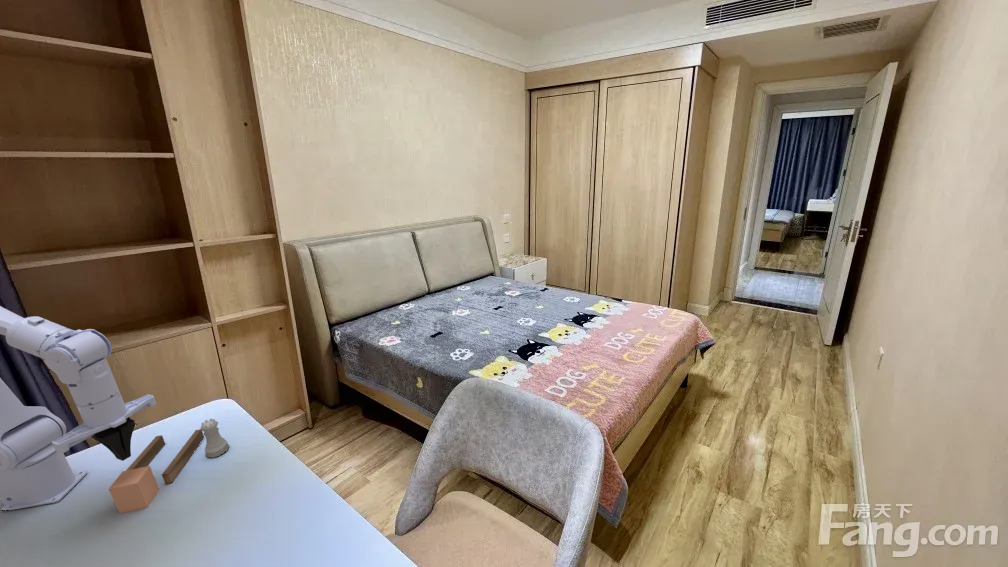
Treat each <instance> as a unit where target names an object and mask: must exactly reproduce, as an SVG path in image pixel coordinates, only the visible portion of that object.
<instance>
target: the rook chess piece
mask: <svg viewBox="0 0 1008 567" xmlns="http://www.w3.org/2000/svg"><path fill="white" fill-rule="evenodd" d="M218 425H219V421H216V419H215V418H209V420H208V419H206V420H204V422H202V423H201V426H200V428H199V430H202V432H203V435H204V437H205V440H206V441H205V442H206V444H205V448H204V452H205V456H206V457H208V458H210V459H211V458H212V459H213V458H218V457H220V456H222V455H224V454H225V453H226V452H227V450H229V446H230V444H228V441H227V440H226V439H225V438H224V437H223V436H222V435H221V434H220V431H219V430H220V428H219V427H218ZM225 451H226V452H225ZM224 452H225V453H224ZM223 453H224V454H223ZM221 454H222V455H221ZM217 456H218V457H217Z"/></svg>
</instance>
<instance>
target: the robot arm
mask: <svg viewBox="0 0 1008 567" xmlns="http://www.w3.org/2000/svg"><path fill="white" fill-rule="evenodd" d="M0 335H2V336H4V337H5V342H6V343H7V344H8V346H10V347H12V348H15V349H18V350H20V351H23V352H25V353H28V354H30V355H32V356H35V357H38V358H40V359H43V361H44V363H45V365H46V366H47V367H48V368H49V369H50V370H51V371H52V372H54V374H56V376H57V378H58V379H59V381H60V382H61V383H62V384H66V386H67V388H68V390H69V392H70V395H71V397H72V399H73V402H74V404H75V406H76V408H77V410H78V412H79V414H80V417H81V419H82V421H83V422H82V423H80V424H79V425H78V426H76V427H74V428H73V429H71V430H70V431H68V432H67V426H66V424H65V422H64V421H63V420H62V419H61V418H60V417H58V416H57V415H55V414H54V413H52V412H51V411H50V410H49V409H48V408H47V407H46V406H37V405H36V406H30V405H29V406H27V405H24V404H23V403H22V401H20V399H19V398H18V397H17V396H16V394H15V393H14V392H13V391H12V390H11V388H10V387H8V385H7V384H6V383H5V382H4V380H3V379H2V378H1V377H0V500H1V502H2V504H3V505H4V506H2V508H1V509H0V510H5V511H4V512H7V511H6V510H9V511H14V510H18V509H24V508H30V507H36V506H43V505H48V504H53V503H58V502H60V501H61V500H62V499H63V498H64V497H65V496H66V495H67V494H68V493H69V492H70V491H71V490H72V489H73V488H75V486H76V485H77V484H79V482H80V481H81V480H82V479H83V478H84V477H86V475H87V474H88V471H87V470H82V471H75V472H73V470H72V468H71V466H70V464H69V462H68V459H67V458H66V455H65V454H64V453H66V452H68V451H70V448H72V447H73V446H76V445H78V444H80V443H81V442H83V441H86V440H87V439H89V438H92V439H93V440H95V441H97V442H98V443H100V444H101V445H103V446H104V447H106V449H108V450H109V451H110V452H111V453H112V454H113V455H114V457H115V458H116V459H117V460H120V461H125V460H127V459H129V458H130V457H131V456H132V453H131V448H132V447H131V444H132V442H131V441H132V436H133V432H134V429H135V427H136V422H135V420H134V419H132V418H131V417H132V416H133V415H135V414H137V413H139V412H141V411H143V410H146V409H147V408H149V407H150V408H152V407H154V406H157V405H158V403H157V401H156V398H155V396H154V395H152V394H146V395H144V396H141V397H139V398H136V399H134V400H131V401H128V402H124V399H123V396H122V394H121V392H120V389H119V386H118V385H117V384H118V383H117V381H116V380H115V379H116V378H115V377H114V374H113V372H112V369H111V366H110V364H109V363H108V360H107V358H108V357H109V356H110V355H111V354H112V344H111V342H110V340H109V339H108V338H107V337H106V336H105V335H104V334H103V333H101V332H99V331H97V330H96V329H94V328H93V329H92V328H87V329H84V330H83V329H77V330H74V329H71V328H68V327H66V326H63V325H61V324H59V323H56V322H53V321H50V320H48V319H46V318H43V317H40V316H39V315H38V316H35V315H34V316H33V315H32V316H27V317H23V316H20V314H17V313H15V312H13V311H10V310H9V309H7V308H6V307H5V308H4V307H3V306H1V305H0Z"/></svg>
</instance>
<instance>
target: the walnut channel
mask: <svg viewBox="0 0 1008 567" xmlns="http://www.w3.org/2000/svg"><path fill="white" fill-rule="evenodd" d="M203 438H204V439H205V435H204V431H202V430H200V429H196V430H194V432H193V433H192V435H191V436H190V437H189V438H188V440H187V441H186V442H185V444H184V445H182V448H181V449H180V450H179V452H178V453H177V454H175V457H174V458H173V459H172V460H171V462H169V464H168V466H166V468H165V469H164V471H163V472H162V473H161V476H162V479H163V482H164V484H165V485H170V484H173V483H174V481H175V480H176V478H177V477H178V475H179V474H180V473H181V471H182V470H183V468H184V467H185V465H186V464H187V463H188V461H190V459H191V457H192V456H193V455H192V454H195V452H196V450H197V449H198V448H199V446H200V445H201V443H202V442H203V441H204V439H203ZM202 440H203V441H202ZM201 441H202V442H201ZM200 442H201V443H200ZM199 444H200V445H199ZM165 445H166V442H165V439H164V437H163V435H162V434H161V435H156V436H155V437H154V438H153V439H152V440H151V442H149V444H148V445H147V446H146V447H145V448H144V449H143V450H142V452H141V453H140V454H139V455H138V456H137V457H136V458H135V459H134V460H133V461H132V463H131V464H130V465H129V466H128V467H127V469H126V470H125V471H127V470H132V469H137V468H142V467H147V466H149V465H150V464H151V463H152V461H153V460H154V459H155V457H156V456H157V454H159V452H160V451H161V450H162V449H163V448H164V447H165ZM197 447H198V448H197ZM196 448H197V449H196ZM194 451H195V452H194Z"/></svg>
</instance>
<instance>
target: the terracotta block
mask: <svg viewBox="0 0 1008 567" xmlns="http://www.w3.org/2000/svg"><path fill="white" fill-rule="evenodd" d="M126 470H127V469H126ZM126 470H123V471H121V473H120V474H119V475H118V476H117V478H116V479H115V480H114V481H113V483H112V484H111V485H110V486H109V488H108V491H109V494H110V496H111V498H112V500H113V502H114V505H115V506H116V509H117V511H118V513H119V514H124V513H128V512H132V511H137V510H138V511H139V510H142V509H145V508H149V506H150V505H149V504H151V503H152V502H153V500H154V498H155V496H157V494H158V492H159V490H160V487H159V485H158V482H157V480H156V478H155V475H154V473H153V471H152V467H151V466H150V465H148V466H147V467H142V468H137V469H132V470H127V471H126Z"/></svg>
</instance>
